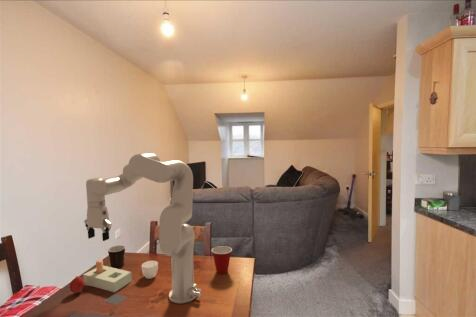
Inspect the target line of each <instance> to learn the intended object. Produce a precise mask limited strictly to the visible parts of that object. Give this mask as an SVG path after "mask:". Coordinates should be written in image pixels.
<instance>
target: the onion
mask: <svg viewBox="0 0 476 317" xmlns="http://www.w3.org/2000/svg"><path fill="white" fill-rule="evenodd" d="M85 286H86V285H85V282H84V278H81V277H79V275H76V276H75V278H73V279H72V281H70V283H69V287H68V288H69V291H70V292H72V293H73V294H79V293H80V292H81V291H82V290H84V287H85Z"/></svg>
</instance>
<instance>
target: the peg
mask: <svg viewBox="0 0 476 317" xmlns="http://www.w3.org/2000/svg"><path fill="white" fill-rule="evenodd" d="M103 265H104V260H103V259H100V260H96V261H95V268H96V273H97V274H101V273H103Z"/></svg>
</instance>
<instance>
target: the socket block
mask: <svg viewBox="0 0 476 317" xmlns="http://www.w3.org/2000/svg"><path fill="white" fill-rule="evenodd" d="M82 275H83V280H84V282H85V286H88V287H95V288H97V289H100V290H105V291H109V292H111V293H116V292H118V291H119V290H121V289H122V288H124V287H125V286H127V285H128V284H129V283H131V282H132V271H128V270H125V269H121V268H119V269H116V268H112V267H111V266H108V265H104V264H103V273H101V274H97V273H96V267H95V268H93V269H91V270H89V271H87V272H86V273H84V274H82Z"/></svg>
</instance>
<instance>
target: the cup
mask: <svg viewBox="0 0 476 317" xmlns="http://www.w3.org/2000/svg"><path fill="white" fill-rule="evenodd" d="M158 269H159V262H158V261H156V260H147V261H145V262H143V263H142V264H141V271H142V272H141V273H142V275H143V276H144V278H145V279H153V278H155V276H156V275H157V273H158V271H159V270H158Z"/></svg>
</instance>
